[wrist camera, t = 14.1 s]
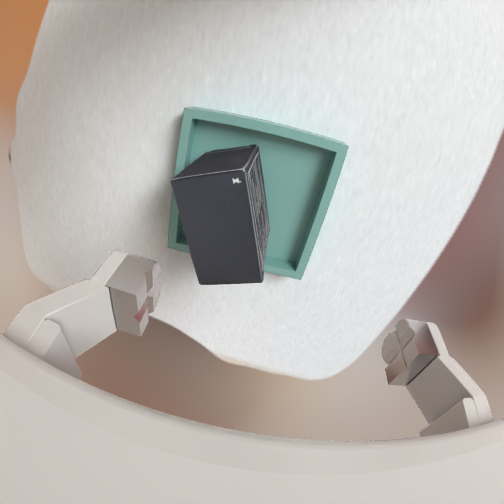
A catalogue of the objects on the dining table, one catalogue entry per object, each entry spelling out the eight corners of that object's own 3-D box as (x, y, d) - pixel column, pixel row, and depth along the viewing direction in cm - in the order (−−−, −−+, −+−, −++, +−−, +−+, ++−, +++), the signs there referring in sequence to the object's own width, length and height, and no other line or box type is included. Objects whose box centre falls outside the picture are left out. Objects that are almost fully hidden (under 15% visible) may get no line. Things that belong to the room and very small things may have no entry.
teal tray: (192, 106, 27) (184, 107, 25) (343, 142, 28) (348, 146, 26) (174, 237, 36) (167, 247, 34) (300, 268, 37) (300, 279, 35)
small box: (200, 151, 30) (165, 177, 21) (259, 142, 28) (248, 164, 20) (218, 235, 35) (196, 287, 26) (271, 230, 34) (266, 284, 25)
